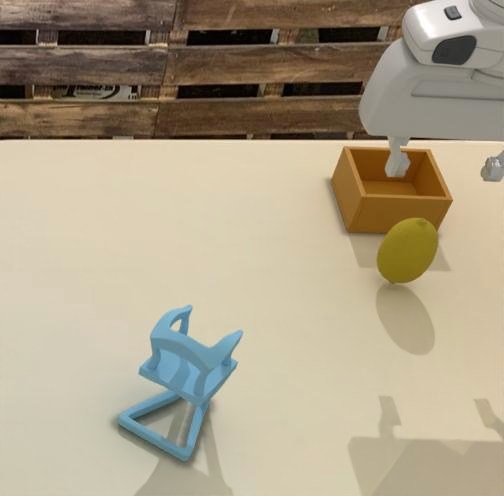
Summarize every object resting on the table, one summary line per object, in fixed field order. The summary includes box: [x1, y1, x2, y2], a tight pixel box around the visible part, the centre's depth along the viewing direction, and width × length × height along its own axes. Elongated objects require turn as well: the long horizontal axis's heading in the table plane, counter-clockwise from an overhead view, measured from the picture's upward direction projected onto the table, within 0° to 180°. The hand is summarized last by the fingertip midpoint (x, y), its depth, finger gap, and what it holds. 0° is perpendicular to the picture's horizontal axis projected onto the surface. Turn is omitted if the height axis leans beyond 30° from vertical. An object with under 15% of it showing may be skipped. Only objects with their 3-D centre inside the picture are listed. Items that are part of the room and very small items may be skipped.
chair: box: [117, 304, 244, 462], centre depth 82 cm, size 8×8×12 cm
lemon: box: [376, 218, 439, 284], centre depth 96 cm, size 6×6×8 cm
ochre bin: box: [330, 145, 454, 234], centre depth 105 cm, size 10×10×5 cm
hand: (441, 176), depth 89 cm, fingers open, 8 cm apart
